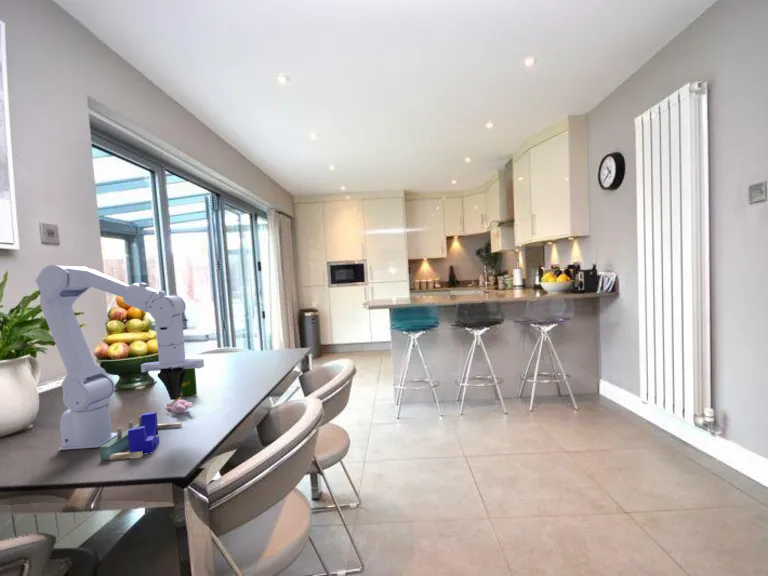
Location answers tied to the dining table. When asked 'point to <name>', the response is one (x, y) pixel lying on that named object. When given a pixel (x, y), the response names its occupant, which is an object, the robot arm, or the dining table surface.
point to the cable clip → (144, 434)
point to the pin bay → (125, 443)
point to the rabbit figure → (179, 406)
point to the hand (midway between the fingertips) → (175, 398)
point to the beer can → (189, 385)
